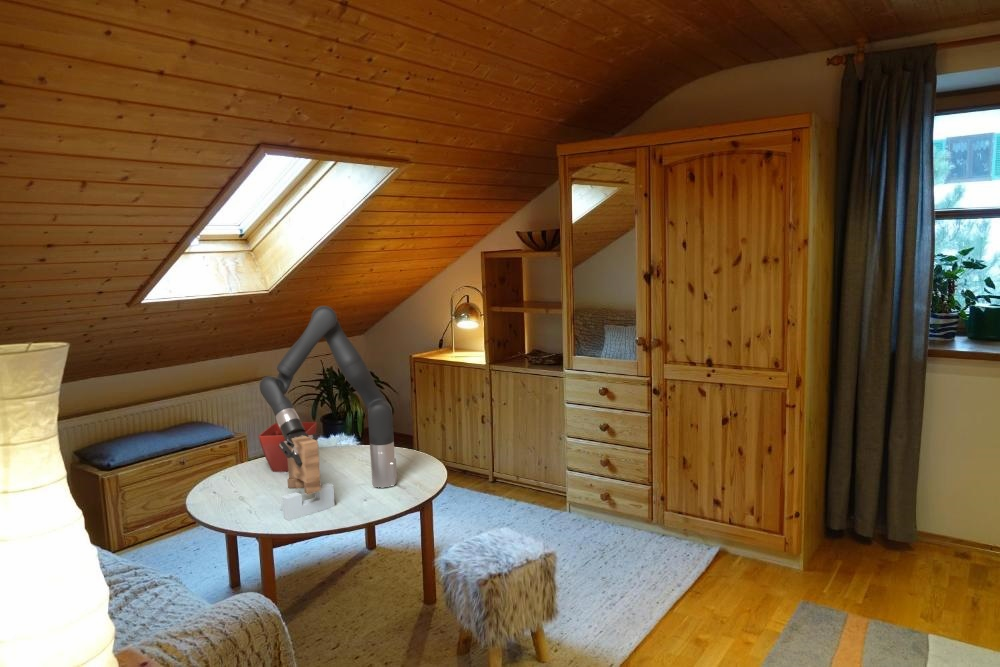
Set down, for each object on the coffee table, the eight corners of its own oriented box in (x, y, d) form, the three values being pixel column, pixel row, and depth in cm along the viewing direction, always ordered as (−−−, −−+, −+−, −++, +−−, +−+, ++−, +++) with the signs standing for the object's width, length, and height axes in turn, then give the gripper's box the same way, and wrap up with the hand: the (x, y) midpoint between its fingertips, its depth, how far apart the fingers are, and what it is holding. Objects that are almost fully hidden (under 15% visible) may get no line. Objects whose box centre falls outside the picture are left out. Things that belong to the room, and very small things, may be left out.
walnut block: (294, 487, 255) (290, 438, 252) (307, 483, 259) (303, 435, 256) (307, 494, 248) (304, 444, 245) (320, 490, 251) (317, 441, 249)
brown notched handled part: (315, 488, 278) (311, 443, 276) (287, 488, 279) (284, 443, 276) (317, 484, 282) (314, 440, 279) (291, 485, 282) (287, 441, 280)
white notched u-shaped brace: (329, 503, 262) (328, 482, 261) (334, 506, 259) (333, 485, 258) (283, 518, 250) (282, 496, 248) (288, 521, 247) (286, 498, 246)
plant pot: (260, 475, 295) (257, 435, 293) (277, 460, 314) (274, 422, 312) (306, 474, 294) (303, 434, 292) (320, 459, 313) (317, 422, 311)
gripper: (273, 422, 250) (292, 462, 243) (311, 414, 260) (330, 453, 253) (268, 433, 255) (286, 474, 248) (305, 425, 264) (323, 464, 258)
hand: (308, 463), depth 250 cm, fingers closed on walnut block, 5 cm apart
